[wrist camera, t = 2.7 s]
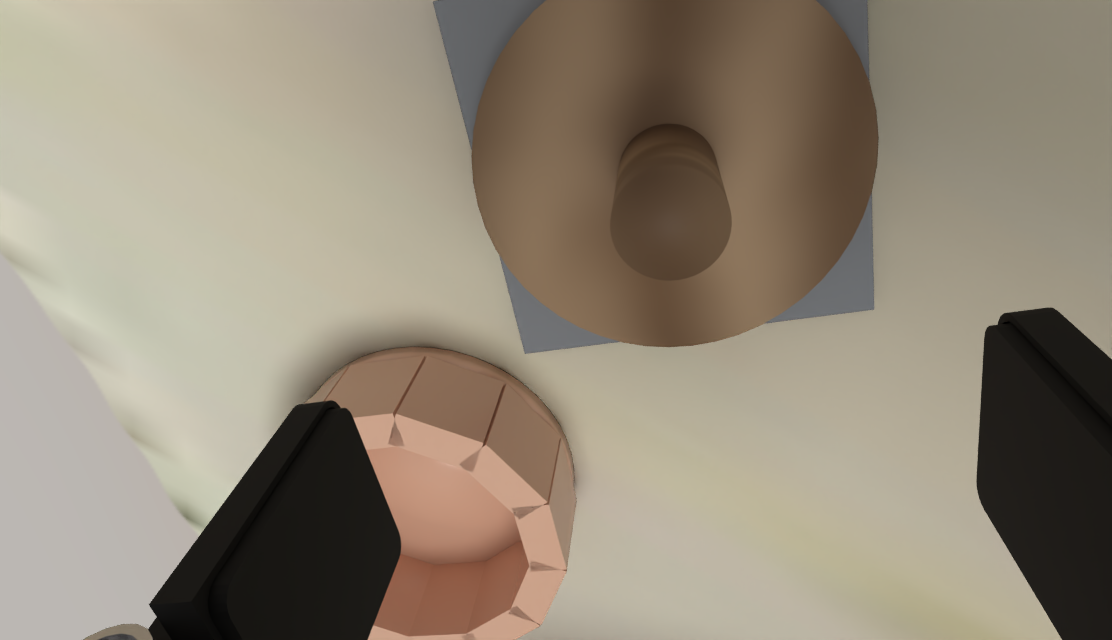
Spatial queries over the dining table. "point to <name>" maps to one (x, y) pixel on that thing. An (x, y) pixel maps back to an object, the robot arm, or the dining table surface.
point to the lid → (674, 161)
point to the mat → (472, 50)
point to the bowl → (462, 492)
